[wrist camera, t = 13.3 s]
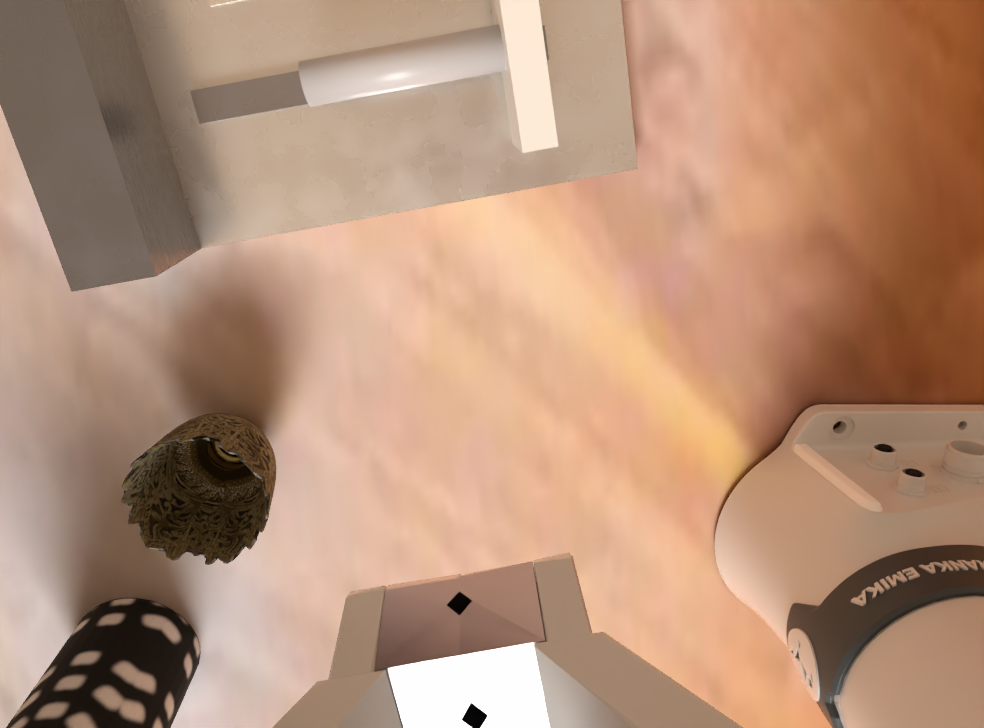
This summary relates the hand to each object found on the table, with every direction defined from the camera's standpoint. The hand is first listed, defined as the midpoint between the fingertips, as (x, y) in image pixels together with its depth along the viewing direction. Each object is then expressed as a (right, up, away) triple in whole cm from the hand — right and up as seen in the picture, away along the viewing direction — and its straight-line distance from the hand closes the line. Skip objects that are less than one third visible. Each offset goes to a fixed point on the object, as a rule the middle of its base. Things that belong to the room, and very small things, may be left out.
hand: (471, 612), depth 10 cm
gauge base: (-7, +18, +29) cm, 35 cm away
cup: (-16, -1, +36) cm, 39 cm away
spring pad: (-3, +19, +27) cm, 33 cm away
